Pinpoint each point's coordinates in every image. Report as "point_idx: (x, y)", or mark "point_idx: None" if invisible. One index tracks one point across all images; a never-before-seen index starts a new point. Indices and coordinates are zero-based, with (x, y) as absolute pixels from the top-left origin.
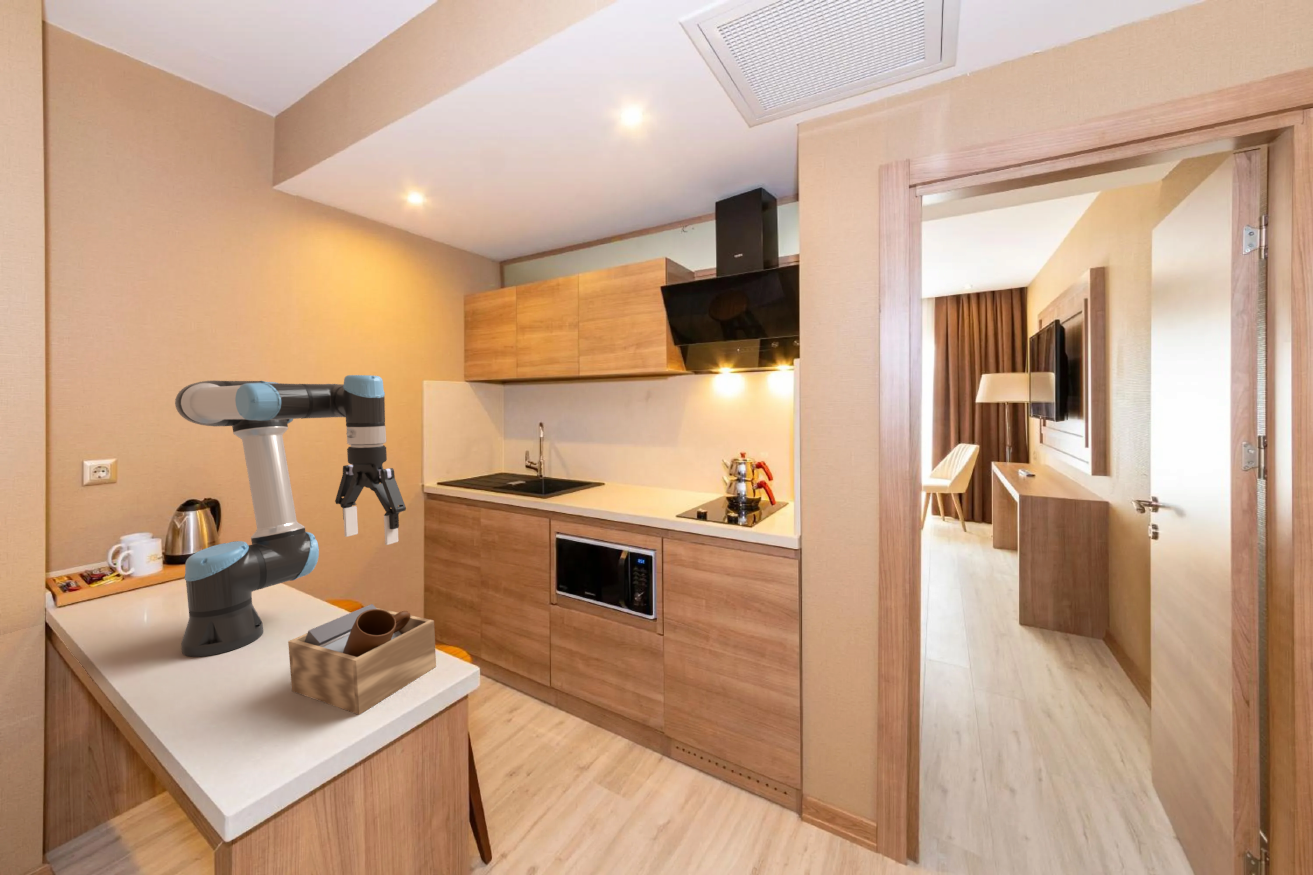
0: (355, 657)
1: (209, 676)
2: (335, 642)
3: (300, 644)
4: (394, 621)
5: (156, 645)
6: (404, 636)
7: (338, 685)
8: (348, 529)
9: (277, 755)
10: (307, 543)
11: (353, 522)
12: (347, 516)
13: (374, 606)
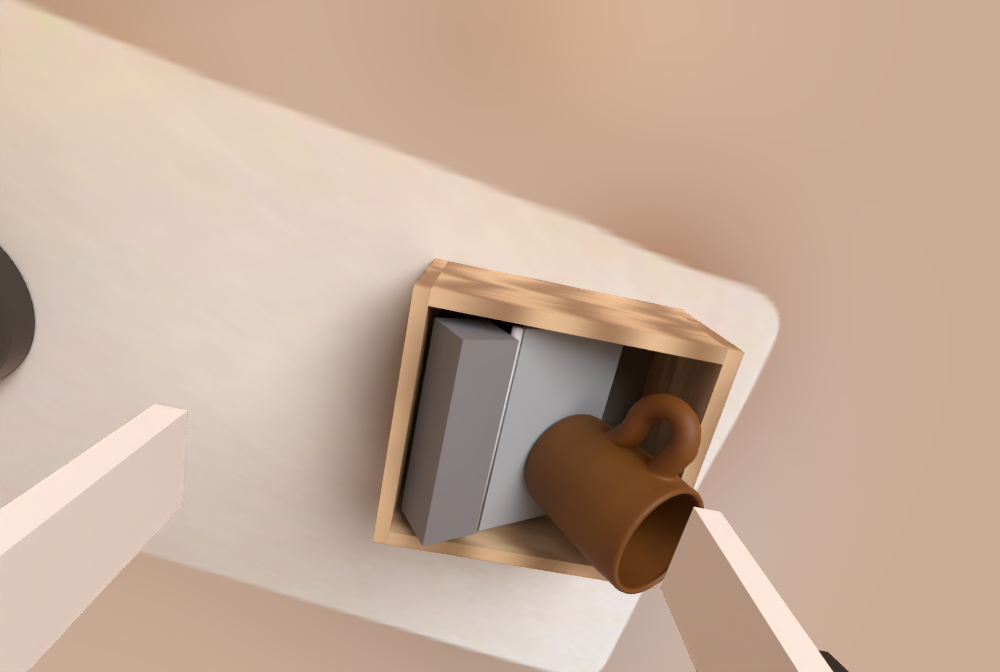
0: None
1: None
2: (490, 490)
3: (427, 549)
4: (693, 495)
5: None
6: (703, 459)
7: None
8: (142, 531)
9: (558, 600)
10: None
11: (96, 526)
12: (13, 661)
13: (476, 340)
